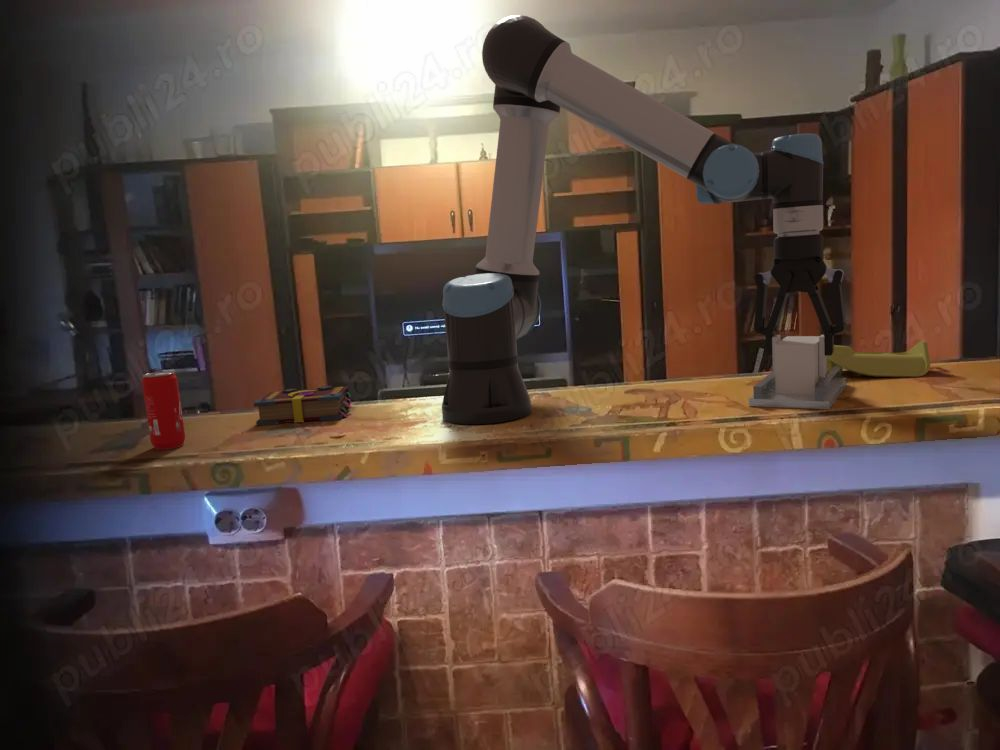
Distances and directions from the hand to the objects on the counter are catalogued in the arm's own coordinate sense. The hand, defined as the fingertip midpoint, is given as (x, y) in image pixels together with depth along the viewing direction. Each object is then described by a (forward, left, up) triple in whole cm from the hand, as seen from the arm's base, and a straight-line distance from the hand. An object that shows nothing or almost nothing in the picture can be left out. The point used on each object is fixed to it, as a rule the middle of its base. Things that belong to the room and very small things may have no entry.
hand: (799, 374), depth 131 cm
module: (0, 0, -2) cm, 2 cm away
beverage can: (-87, -57, -4) cm, 104 cm away
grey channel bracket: (0, 0, -3) cm, 3 cm away
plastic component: (+7, +22, -4) cm, 24 cm away
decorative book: (-80, -33, -4) cm, 86 cm away
